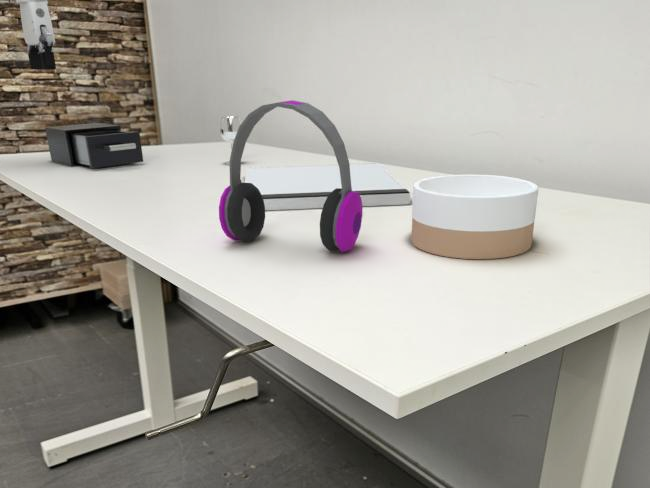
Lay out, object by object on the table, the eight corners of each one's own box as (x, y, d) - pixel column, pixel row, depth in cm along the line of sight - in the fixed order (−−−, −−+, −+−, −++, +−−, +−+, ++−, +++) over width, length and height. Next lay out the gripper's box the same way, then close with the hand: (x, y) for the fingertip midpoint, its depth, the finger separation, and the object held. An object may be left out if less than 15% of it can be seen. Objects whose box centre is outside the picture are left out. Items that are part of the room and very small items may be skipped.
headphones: (215, 247, 89) (201, 103, 81) (246, 232, 97) (236, 99, 89) (346, 261, 81) (344, 103, 74) (368, 244, 89) (369, 99, 81)
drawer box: (125, 160, 173) (120, 125, 170) (71, 167, 164) (64, 130, 160) (103, 156, 183) (98, 122, 179) (51, 162, 174) (44, 127, 170)
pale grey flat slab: (410, 191, 111) (241, 198, 109) (410, 204, 112) (242, 211, 110) (378, 162, 143) (246, 167, 141) (378, 173, 144) (247, 178, 142)
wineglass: (220, 163, 164) (216, 117, 159) (241, 161, 166) (237, 115, 161) (226, 166, 159) (222, 118, 154) (247, 164, 161) (244, 117, 156)
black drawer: (151, 163, 161) (147, 132, 158) (99, 170, 152) (94, 138, 149) (121, 157, 174) (116, 128, 170) (71, 163, 165) (65, 133, 162)
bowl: (533, 263, 79) (541, 199, 75) (402, 255, 83) (404, 194, 80) (530, 230, 94) (536, 175, 91) (419, 225, 98) (421, 172, 95)
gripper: (58, -5, 151) (69, 69, 158) (35, 0, 163) (46, 69, 170) (26, -7, 147) (39, 69, 153) (5, -2, 159) (18, 69, 165)
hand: (43, 69), depth 162 cm, fingers open, 9 cm apart
